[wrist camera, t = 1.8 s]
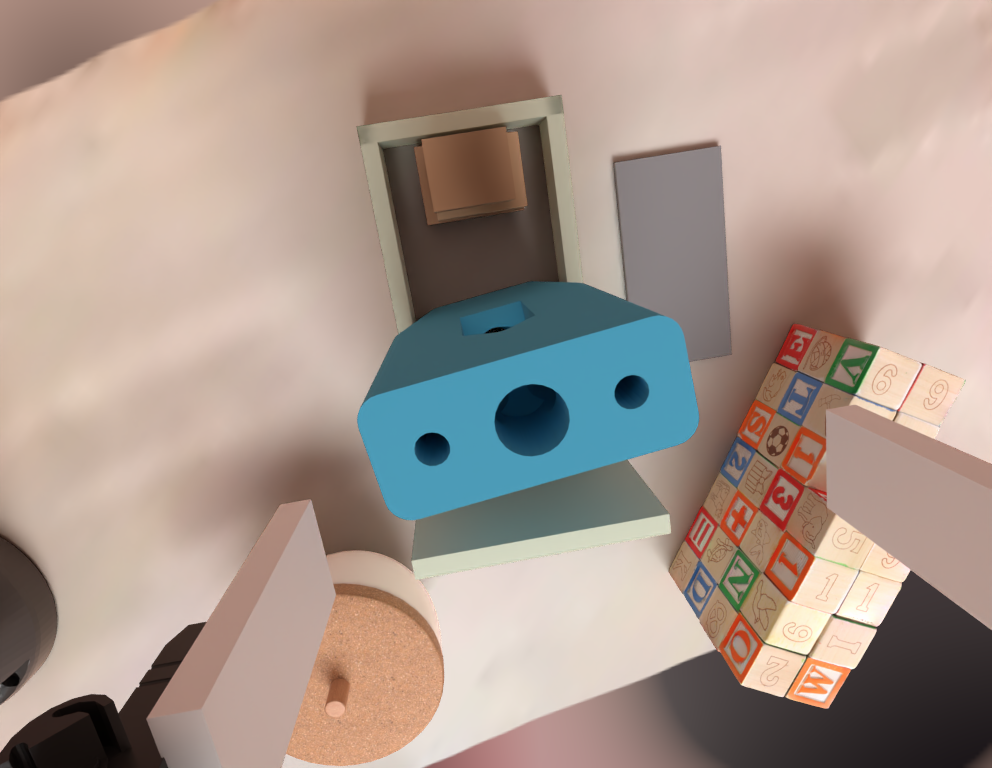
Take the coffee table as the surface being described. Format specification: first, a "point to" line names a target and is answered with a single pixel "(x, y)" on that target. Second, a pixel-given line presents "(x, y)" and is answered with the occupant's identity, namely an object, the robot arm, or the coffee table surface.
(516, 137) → the offcut stack
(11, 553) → the robot arm
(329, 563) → the lidded bowl
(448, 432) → the block
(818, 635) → the stack of blocks
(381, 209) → the frame
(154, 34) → the coffee table surface
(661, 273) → the felt mat
